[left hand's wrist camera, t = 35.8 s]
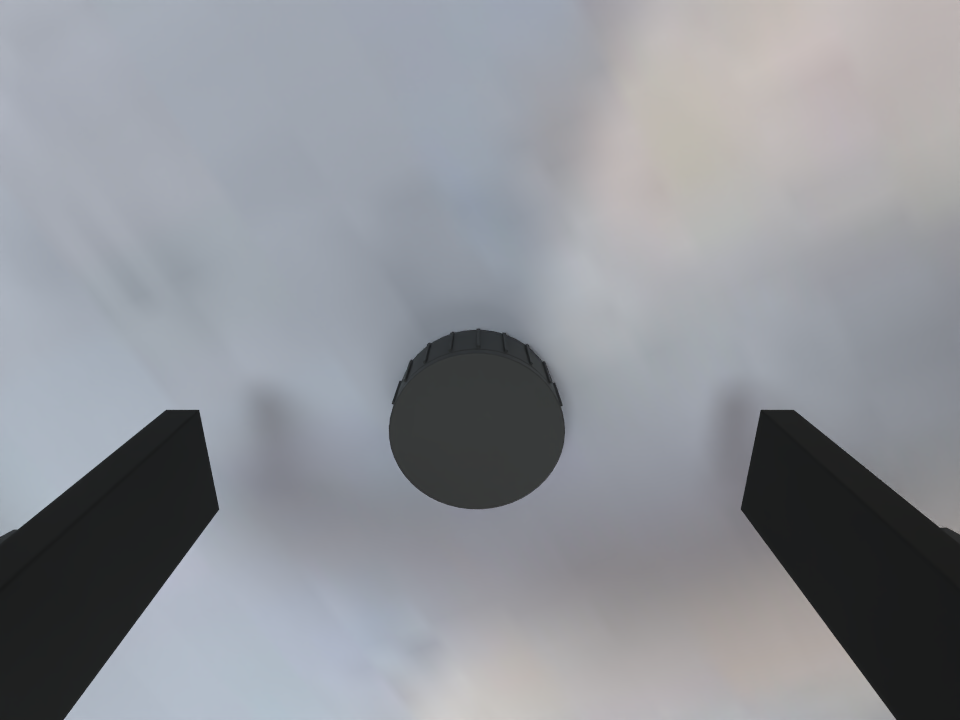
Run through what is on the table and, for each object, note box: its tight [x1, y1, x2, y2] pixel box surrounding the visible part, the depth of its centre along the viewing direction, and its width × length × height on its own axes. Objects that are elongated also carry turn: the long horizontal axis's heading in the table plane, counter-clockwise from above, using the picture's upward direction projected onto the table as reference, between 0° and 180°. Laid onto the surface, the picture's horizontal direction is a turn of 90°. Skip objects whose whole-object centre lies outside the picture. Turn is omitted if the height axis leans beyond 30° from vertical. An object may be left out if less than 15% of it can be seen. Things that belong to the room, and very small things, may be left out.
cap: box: [389, 329, 565, 509], centre depth 15 cm, size 5×5×2 cm
